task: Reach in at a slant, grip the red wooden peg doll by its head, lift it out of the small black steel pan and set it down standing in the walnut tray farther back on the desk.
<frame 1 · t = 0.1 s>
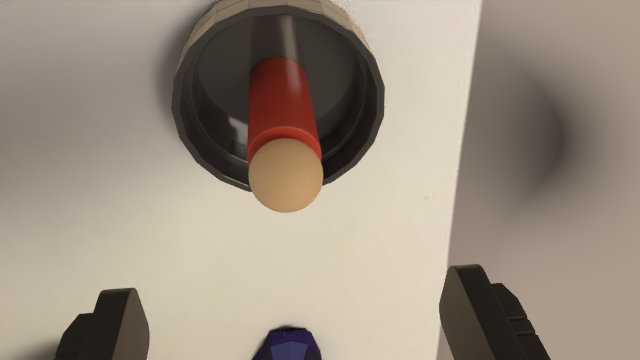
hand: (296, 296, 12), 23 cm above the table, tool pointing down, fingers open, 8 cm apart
doll: (278, 84, 33), resting on pan
pan: (278, 81, 33), on the table
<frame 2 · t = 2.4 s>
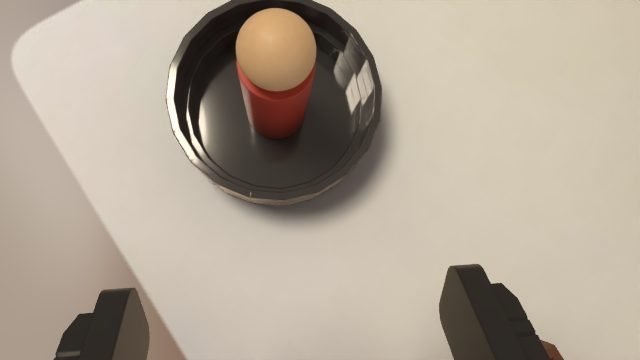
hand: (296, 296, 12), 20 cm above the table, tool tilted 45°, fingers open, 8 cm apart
doll: (276, 111, 33), resting on pan
pan: (276, 113, 33), on the table
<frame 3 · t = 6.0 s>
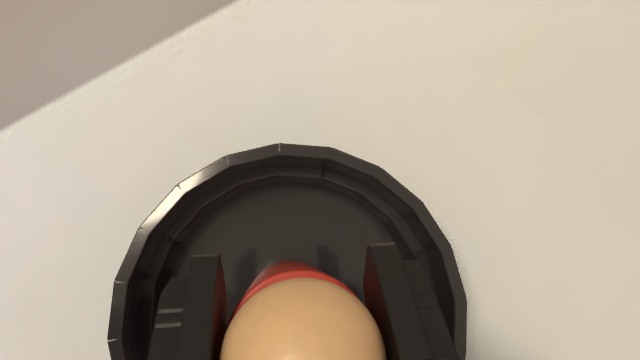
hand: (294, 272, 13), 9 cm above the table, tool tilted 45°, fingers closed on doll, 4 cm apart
doll: (290, 306, 21), point 1 cm above the table, touching gripper, pan
pan: (290, 304, 22), on the table
when the fingers open (9 cm above the table, at t = 15.1 s): doll stays where it is, resting on tray.
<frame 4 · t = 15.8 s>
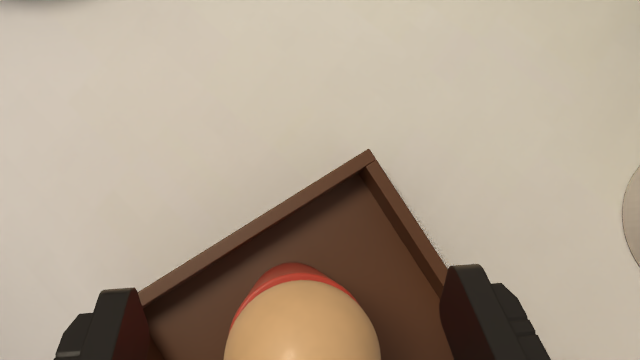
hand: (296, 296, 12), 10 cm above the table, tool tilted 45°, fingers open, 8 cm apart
doll: (292, 306, 22), point 1 cm above the table, touching tray
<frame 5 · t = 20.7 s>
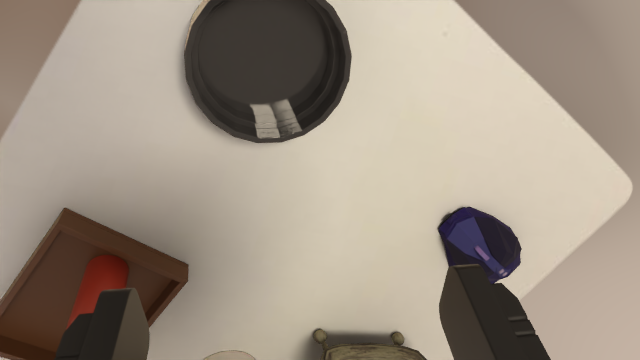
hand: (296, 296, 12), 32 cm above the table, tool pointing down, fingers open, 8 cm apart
tray: (86, 295, 49), on the table
doll: (107, 270, 48), point 1 cm above the table, touching tray
computer mouse: (474, 246, 58), on the table
tabletop clock: (351, 346, 62), on the table
pan: (264, 52, 41), on the table
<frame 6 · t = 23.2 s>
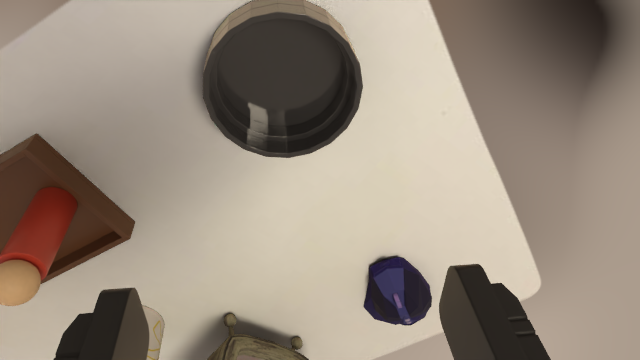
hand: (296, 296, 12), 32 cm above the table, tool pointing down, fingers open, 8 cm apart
white cylinder: (132, 322, 62), on the table
tray: (25, 216, 50), on the table
doll: (56, 202, 48), point 1 cm above the table, touching tray
computer mouse: (393, 289, 63), on the table
tabletop clock: (253, 335, 66), on the table
pan: (281, 69, 43), on the table
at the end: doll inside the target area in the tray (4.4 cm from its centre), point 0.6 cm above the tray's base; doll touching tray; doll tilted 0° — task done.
